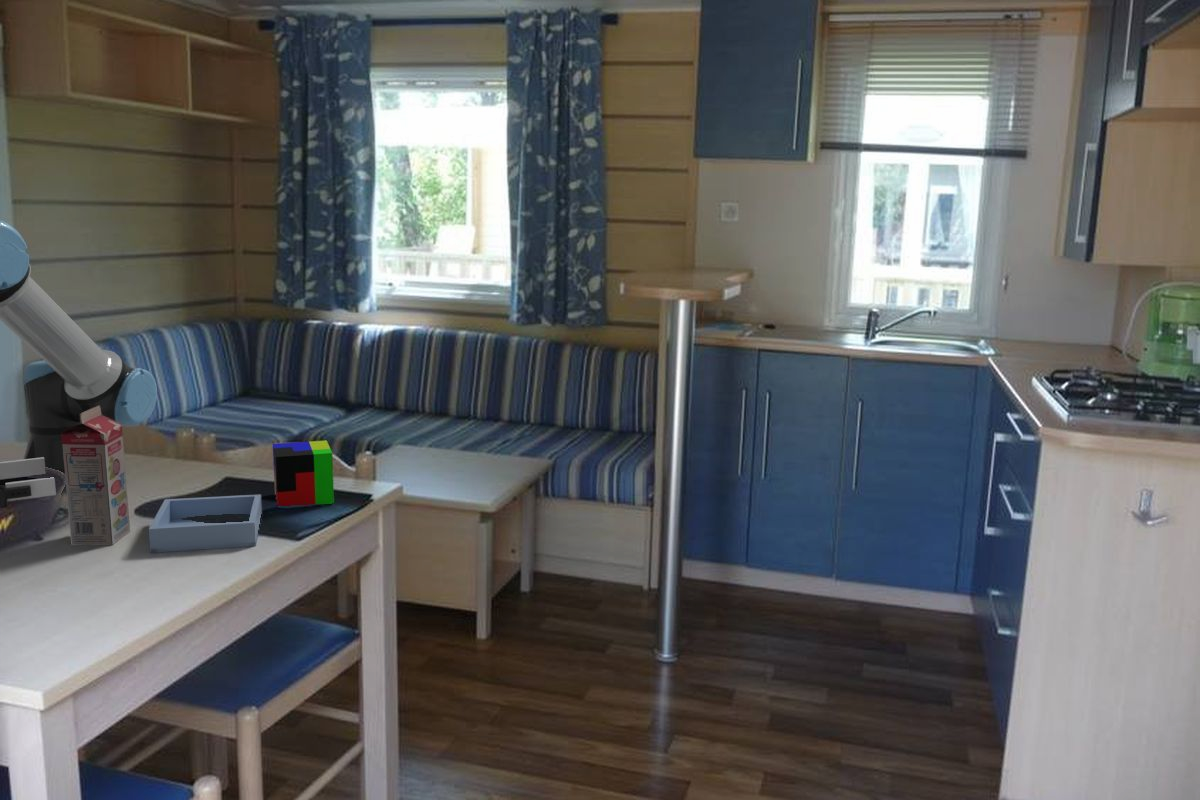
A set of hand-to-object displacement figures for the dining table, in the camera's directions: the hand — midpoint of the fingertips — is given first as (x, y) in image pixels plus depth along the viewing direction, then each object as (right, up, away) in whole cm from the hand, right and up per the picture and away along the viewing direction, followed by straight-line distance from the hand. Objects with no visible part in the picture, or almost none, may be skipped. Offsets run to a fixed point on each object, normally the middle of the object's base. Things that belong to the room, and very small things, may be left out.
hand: (50, 475), depth 159 cm
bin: (+22, -11, +10) cm, 26 cm away
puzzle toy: (+32, -7, +30) cm, 44 cm away
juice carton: (+5, -11, +6) cm, 14 cm away
